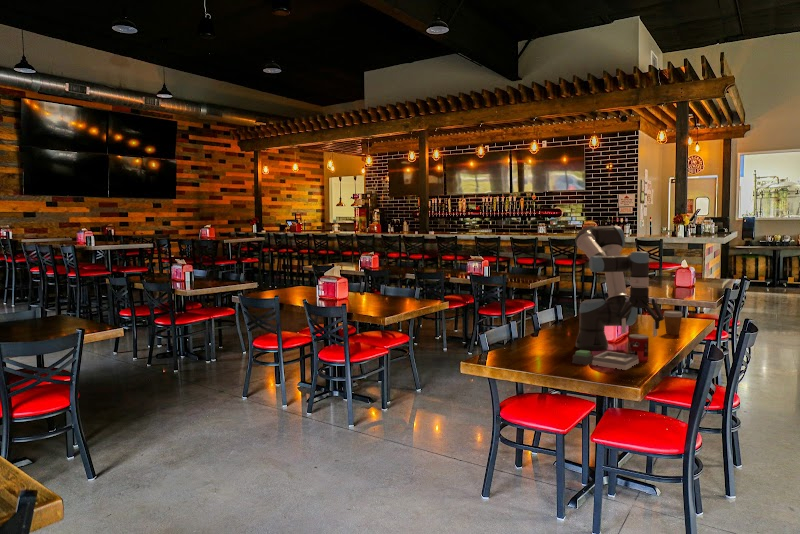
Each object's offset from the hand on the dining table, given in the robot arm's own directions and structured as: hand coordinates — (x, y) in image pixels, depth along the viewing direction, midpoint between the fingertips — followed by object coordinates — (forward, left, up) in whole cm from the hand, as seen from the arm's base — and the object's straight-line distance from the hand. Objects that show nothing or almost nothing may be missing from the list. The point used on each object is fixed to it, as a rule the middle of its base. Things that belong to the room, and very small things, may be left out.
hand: (639, 334), depth 254 cm
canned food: (0, 0, -12) cm, 12 cm away
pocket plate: (+13, -5, -12) cm, 18 cm away
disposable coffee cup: (-68, -7, -12) cm, 70 cm away
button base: (+19, -17, -12) cm, 28 cm away
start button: (+19, -17, -10) cm, 27 cm away
